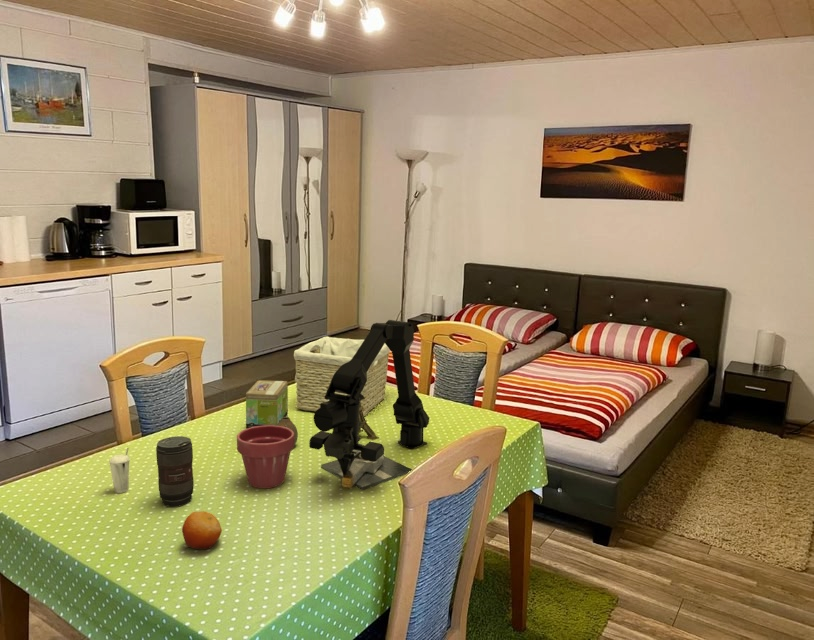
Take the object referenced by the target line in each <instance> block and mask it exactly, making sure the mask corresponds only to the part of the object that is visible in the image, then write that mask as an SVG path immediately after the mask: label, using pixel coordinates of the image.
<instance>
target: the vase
mask: <svg viewBox="0 0 814 640" xmlns="http://www.w3.org/2000/svg"><path fill="white" fill-rule="evenodd" d="M277 426H283V427H286V428H289V429H291V430H292V431H293V432H294V446H295V445H296V444H297V441H298V435H299V433H298V428H297V427H296V425H295V424H294V423H293V421H292V420H291V418H290V417H289V416H288V417H282V418H281V420H280V422H279V423H278V425H277Z"/></svg>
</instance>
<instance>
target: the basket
mask: <svg viewBox="0 0 814 640" xmlns="http://www.w3.org/2000/svg"><path fill="white" fill-rule="evenodd" d="M364 340H365V339H353V338H352V339H351V338H340V337H331V336H323V337H321V338H319V339H316V340H314V341H311V342H308V343H306V344H304V345H302V346H301V347H299V348H298V349H295V350H294V352H293V358H294V361H295V378H296V381H295V382H296V385H295V388H296V392H295V393H296V408H297V409H298V410H303V411H307V412H308V411H309V412H310V411H311V412H314V413H315V412H316V410H318V409H319V408H320V404H321V403H323V402H327V401H329V400H327V399H325V395H326V392H327V390H328V387H329V385H330V382H331V380H332V377H333V375H334V374H335V372H336V371H337V370H338V369H339V368H340V367H341V366H342V365H343V364H345V363H347V362H349V361H350V360H351V359H352V358H353V356H354V355H355V353H356V352H357V350H358V349H359V347H360V346H361V344H362V343H363V341H364ZM312 351H314V352H312ZM390 351H391V350H390V349H389V348H388V347H387V345H386V344H384V345H383V347H382V349H381V350H380V352H379V353H378V355H377V356H376V358H375V360H374V361H373V363H372V364H371V366H370V367H369V369H368V371H367V382H366V384H365V386H364V388H363V390H362V392H361V394H362V395H363V396H364V399H363V400H361V406H363V408H364V409H363V410H362V412H363V415H364V417H366V415H368V413H369V412H371V410H372V409H374V408H375V407H376V406H377V405H378V404H380V402H382V401H383V400H384V399H385V398H386V386H387V385H386V384H387V377H388V367H389V366H388V364H389V357H390ZM335 393H336V394H341V395H348V394H344V393H339V392H335ZM359 418H360V416H359Z"/></svg>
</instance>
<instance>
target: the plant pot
mask: <svg viewBox="0 0 814 640" xmlns="http://www.w3.org/2000/svg"><path fill="white" fill-rule="evenodd" d="M294 447H295V445H294V432H293V431H292V430H291V429H289V428H286V427H283V426H275V425H263V426H255V427H251V428H247V429H246V428H245V429H242V430H241V431H239V432H238V433H237V435H236V448H237V449H236V450H237V451H238V452H237V453H239V454H241V459H242V462H243V466H244V471H245V474H246V477H247V481H248V484H249V485H250V486H252V487H254V488H259V489H270V488H271V489H272V488H275V487H278V486H281V485H282V484H283V483H284V481H285V478H286V474H287V469H288V466H289V461H290V455H291V451H292V450H294Z"/></svg>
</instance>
